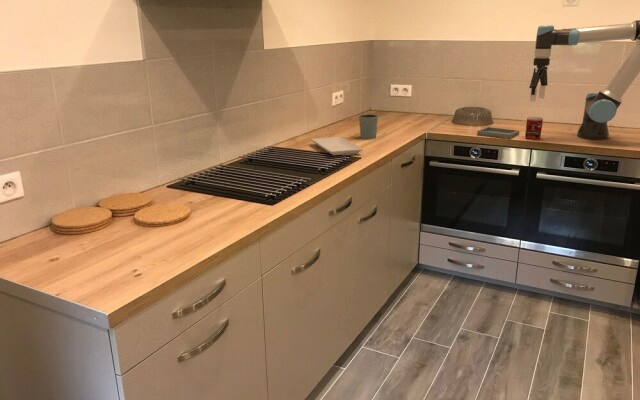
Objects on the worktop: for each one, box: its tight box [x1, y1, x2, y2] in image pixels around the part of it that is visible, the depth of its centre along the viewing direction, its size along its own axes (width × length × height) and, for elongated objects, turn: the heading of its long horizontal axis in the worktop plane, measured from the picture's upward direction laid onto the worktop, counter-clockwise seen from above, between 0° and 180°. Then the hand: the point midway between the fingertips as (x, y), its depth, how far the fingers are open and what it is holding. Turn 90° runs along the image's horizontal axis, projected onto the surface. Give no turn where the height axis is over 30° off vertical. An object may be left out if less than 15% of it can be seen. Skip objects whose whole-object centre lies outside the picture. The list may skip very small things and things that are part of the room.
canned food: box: [524, 116, 544, 141], centre depth 277 cm, size 8×8×11 cm
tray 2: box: [476, 126, 520, 140], centre depth 288 cm, size 18×14×2 cm
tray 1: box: [310, 136, 364, 156], centre depth 259 cm, size 17×31×4 cm, turn 19°
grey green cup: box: [358, 113, 379, 140], centre depth 284 cm, size 10×10×12 cm
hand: (536, 99), depth 272 cm, fingers open, 13 cm apart
